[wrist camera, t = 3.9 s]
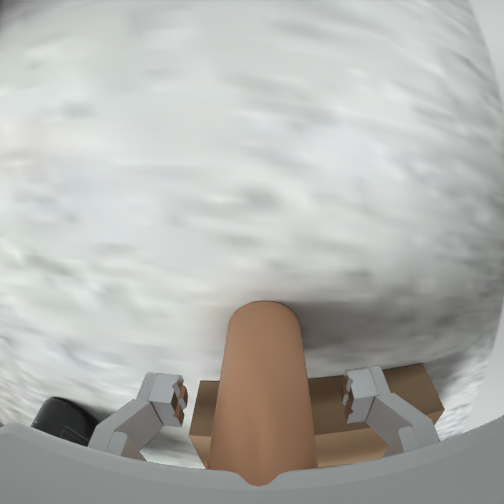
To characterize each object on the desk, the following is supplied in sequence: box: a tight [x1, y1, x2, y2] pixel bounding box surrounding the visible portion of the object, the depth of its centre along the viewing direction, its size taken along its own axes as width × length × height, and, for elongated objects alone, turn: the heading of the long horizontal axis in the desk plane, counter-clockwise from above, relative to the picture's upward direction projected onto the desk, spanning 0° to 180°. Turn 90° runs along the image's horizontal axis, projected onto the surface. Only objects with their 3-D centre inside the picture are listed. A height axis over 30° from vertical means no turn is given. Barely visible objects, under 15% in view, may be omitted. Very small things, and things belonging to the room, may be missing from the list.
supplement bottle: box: [30, 398, 99, 447], centre depth 15 cm, size 7×7×12 cm
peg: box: [207, 301, 318, 487], centre depth 10 cm, size 4×4×10 cm
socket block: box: [189, 363, 445, 469], centre depth 18 cm, size 17×14×4 cm
